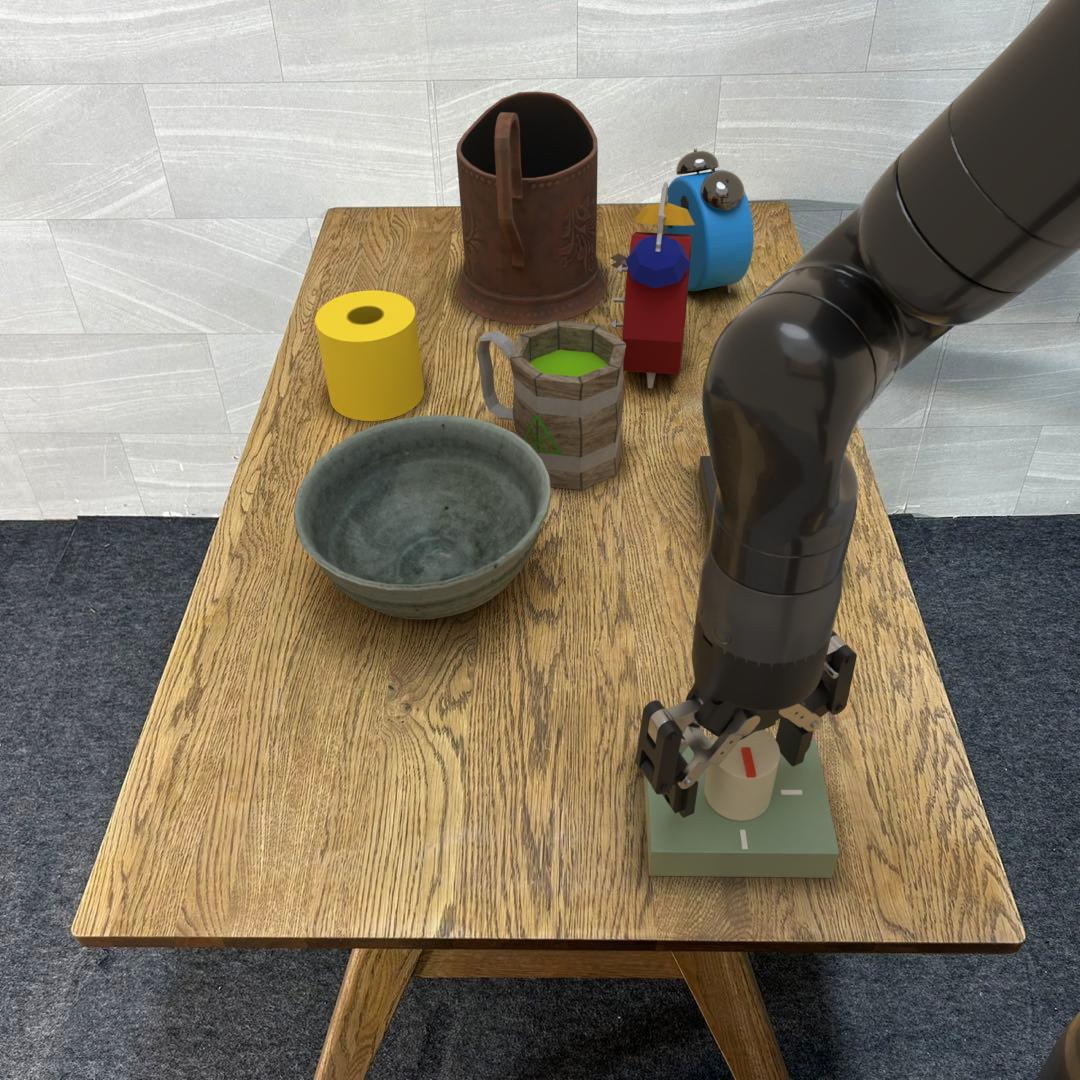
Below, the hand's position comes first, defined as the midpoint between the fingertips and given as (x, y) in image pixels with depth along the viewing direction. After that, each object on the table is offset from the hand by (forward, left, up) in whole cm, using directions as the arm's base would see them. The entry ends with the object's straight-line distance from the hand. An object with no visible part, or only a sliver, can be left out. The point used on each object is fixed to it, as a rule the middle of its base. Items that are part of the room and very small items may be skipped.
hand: (734, 780), depth 69 cm
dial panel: (0, 0, -5) cm, 5 cm away
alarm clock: (+65, -39, -5) cm, 75 cm away
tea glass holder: (+72, -19, -5) cm, 74 cm away
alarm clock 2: (+53, -24, -5) cm, 58 cm away
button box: (+24, -20, -5) cm, 32 cm away
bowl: (+32, +9, -5) cm, 33 cm away
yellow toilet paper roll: (+61, +4, -5) cm, 61 cm away
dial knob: (0, 0, -2) cm, 2 cm away
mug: (+44, -8, -5) cm, 44 cm away
